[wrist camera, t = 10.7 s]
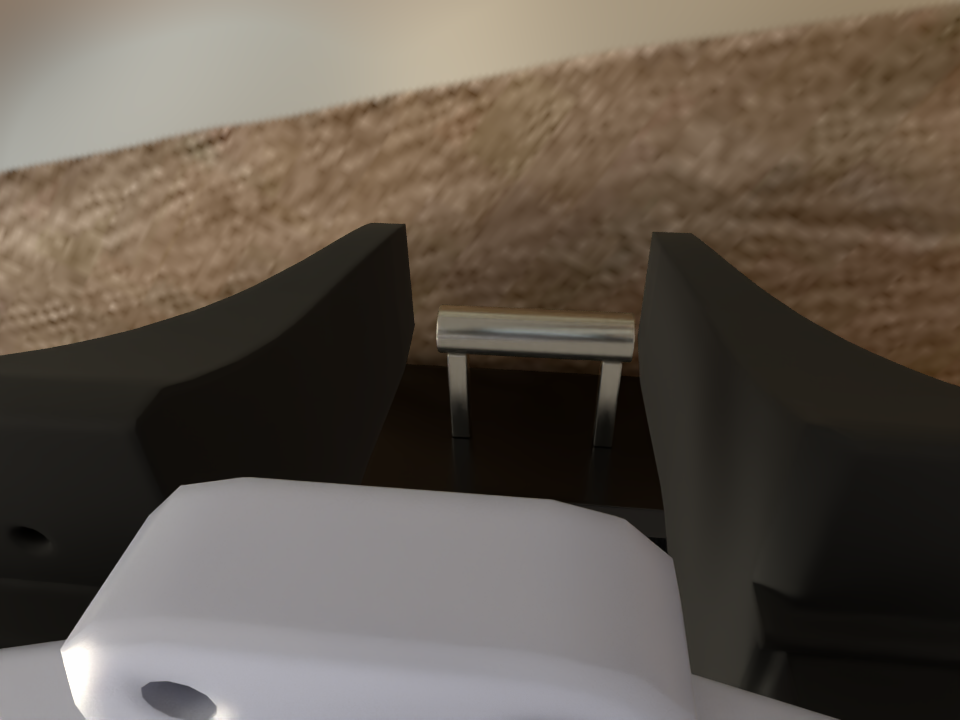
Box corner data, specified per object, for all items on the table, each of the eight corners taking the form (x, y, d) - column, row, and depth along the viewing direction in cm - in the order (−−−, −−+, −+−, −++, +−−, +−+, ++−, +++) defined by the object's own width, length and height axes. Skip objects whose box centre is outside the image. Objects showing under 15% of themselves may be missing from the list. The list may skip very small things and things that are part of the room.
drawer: (354, 247, 22) (289, 357, 17) (739, 261, 21) (790, 385, 16) (402, 583, 33) (370, 711, 28) (659, 606, 32) (675, 745, 27)
